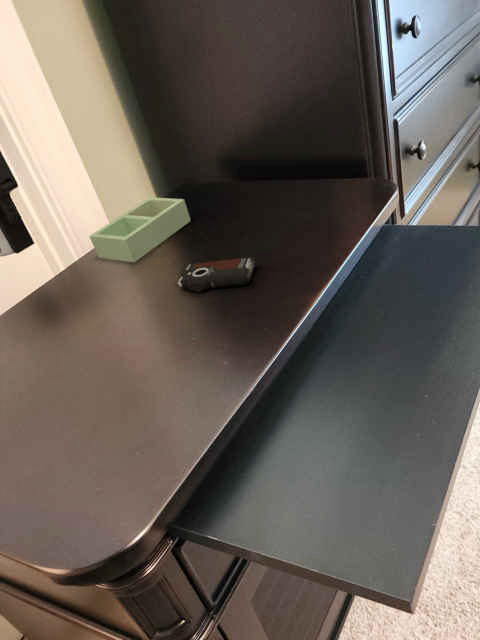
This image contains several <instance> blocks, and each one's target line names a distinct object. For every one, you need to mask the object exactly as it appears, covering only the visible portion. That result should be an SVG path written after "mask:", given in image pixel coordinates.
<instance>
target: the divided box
mask: <svg viewBox="0 0 480 640" xmlns="http://www.w3.org/2000/svg"><path fill="white" fill-rule="evenodd" d="M191 221H192V220H191V217H190V213H189V210H188V206H187V204H186V200H185V198H184V199H183V198H171V197H170V198H169V197H152V196H150V197H148V198H146V199H144V200H143V201H141V202H140V203H139V204H137V205H135V206H133V207H132V208H130V209H128V210H127V211H126V212H124V213H123V214H121V215H119V216H118V217H116V218H115V219H113V220H112V221H110V222H109V223H107V224H106V225H104V226H102V227H101V228H99V229H98V230H96V231H95V232H93V233H92V234H89V240H90V241H91V244H92V245H93V248H94V250H95V252H96V255H97V257H98V259H103V260H111V261H119V262H126V263H136V262H138V260H139V261H140V259H142V258H143V257H144V256H145V255H147V254H148V253H150V252H151V251H152V250H154V249H155V248H157V247H158V246H159V245H161V244H162V243H163V242H165V241H166V240H167V239H169V238H170V237H171V236H172V235H174V234H175V233H177V232H178V231H179V230H180V229H182V228H183V227H184V226H186V225H187V224H189V223H190V222H191Z"/></svg>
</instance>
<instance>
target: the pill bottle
mask: <svg viewBox="0 0 480 640" xmlns="http://www.w3.org/2000/svg"><path fill="white" fill-rule="evenodd" d="M13 254H15V253H14V252H13V250H12V248H11V247H10V245H9V243H8V241H7V240H6V238H5V236H4V234H3V232H2V231H1V229H0V257H1V258H2V257H7V256H11V255H13Z"/></svg>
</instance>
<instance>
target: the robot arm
mask: <svg viewBox="0 0 480 640" xmlns="http://www.w3.org/2000/svg"><path fill="white" fill-rule="evenodd" d="M18 187H19V183H18V181H17V179H16V178H15V175H14V174H13V172H12V170H11V168H10V166H9V164H8V162H7V161H6V158H5V157H4V155H3V153H2V150H0V229H1V231H2V232H3V234H4V236H5V238H6V240H7V241H8V243H9V245H10V247H11V248H12V250H13V252H14V253H13V254H19V253H22V252H23V251H26V250H27V249H28V248H30V247H32V246H33V245H35V241H34V239H33V237H32V235H31V234H30V233H31V232H29V229H28V228H27V226H26V224H25V222H24V220H23V217H22V216H21V213H20V212H19V210H18V208H17V206H16V204H15V202H14V200H13V198H12V196H11V192H12V191H14V190H16V189H17V188H18Z"/></svg>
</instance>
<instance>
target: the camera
mask: <svg viewBox="0 0 480 640" xmlns="http://www.w3.org/2000/svg"><path fill="white" fill-rule="evenodd" d="M255 268H256V259H255V258H254V256H252V257H241V258H234V259H233V258H232V259H225V260H215V261H207V262H197V263H189V264H184V265H183V267H182V268H181V270H180V272H179V274H180V278H179V280H178V282H177V284H178V286H179V287H181V288H183V289H187V290H188V291H190V292H192V291H193V292H195V293H201V292H202V291H203V290H207V289H214V288H224V287H226V288H227V287H235V286H244V285H247V283H249V282H250V281H251V279H252V276H253V273H254V271H255Z"/></svg>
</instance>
